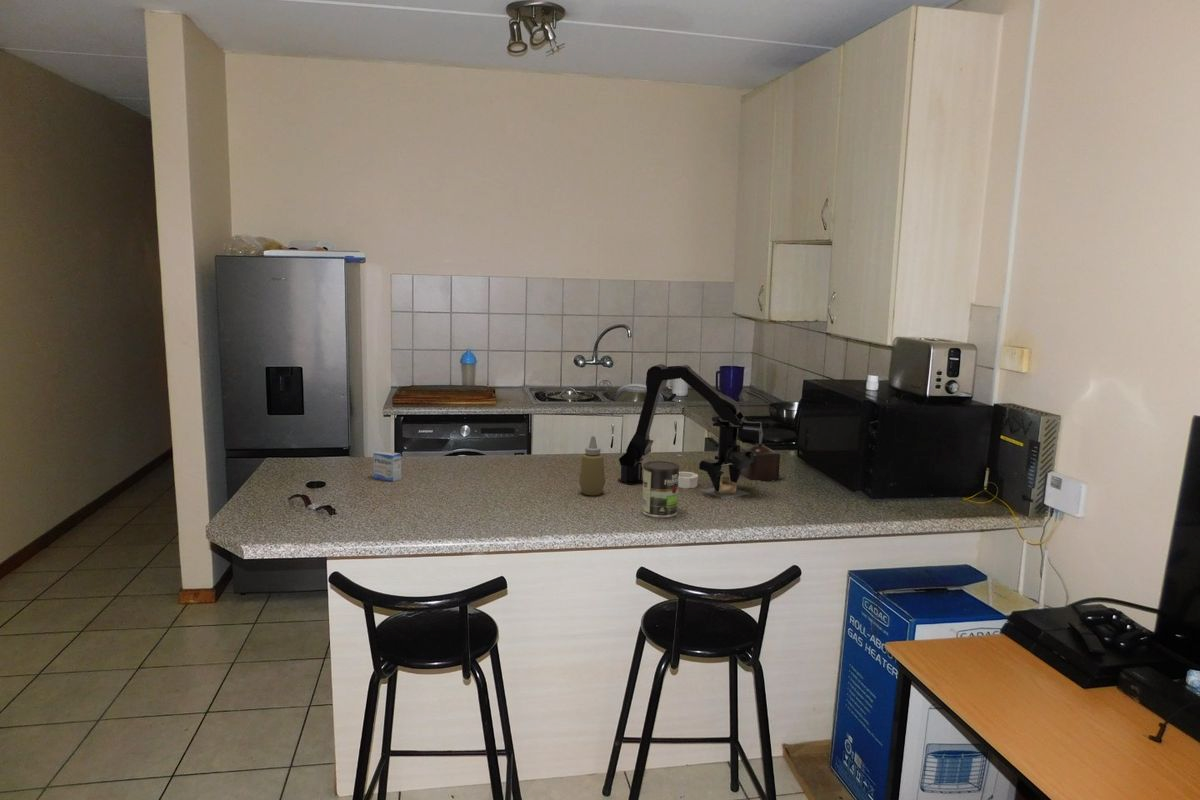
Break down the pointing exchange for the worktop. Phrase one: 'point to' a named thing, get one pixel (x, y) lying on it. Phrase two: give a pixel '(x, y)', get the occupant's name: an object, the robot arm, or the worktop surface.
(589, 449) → the squeeze bottle
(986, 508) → the worktop surface
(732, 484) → the lid
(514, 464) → the worktop surface
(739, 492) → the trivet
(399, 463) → the medicine box
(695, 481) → the bowl
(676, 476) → the coffee can
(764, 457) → the manual coffee grinder
